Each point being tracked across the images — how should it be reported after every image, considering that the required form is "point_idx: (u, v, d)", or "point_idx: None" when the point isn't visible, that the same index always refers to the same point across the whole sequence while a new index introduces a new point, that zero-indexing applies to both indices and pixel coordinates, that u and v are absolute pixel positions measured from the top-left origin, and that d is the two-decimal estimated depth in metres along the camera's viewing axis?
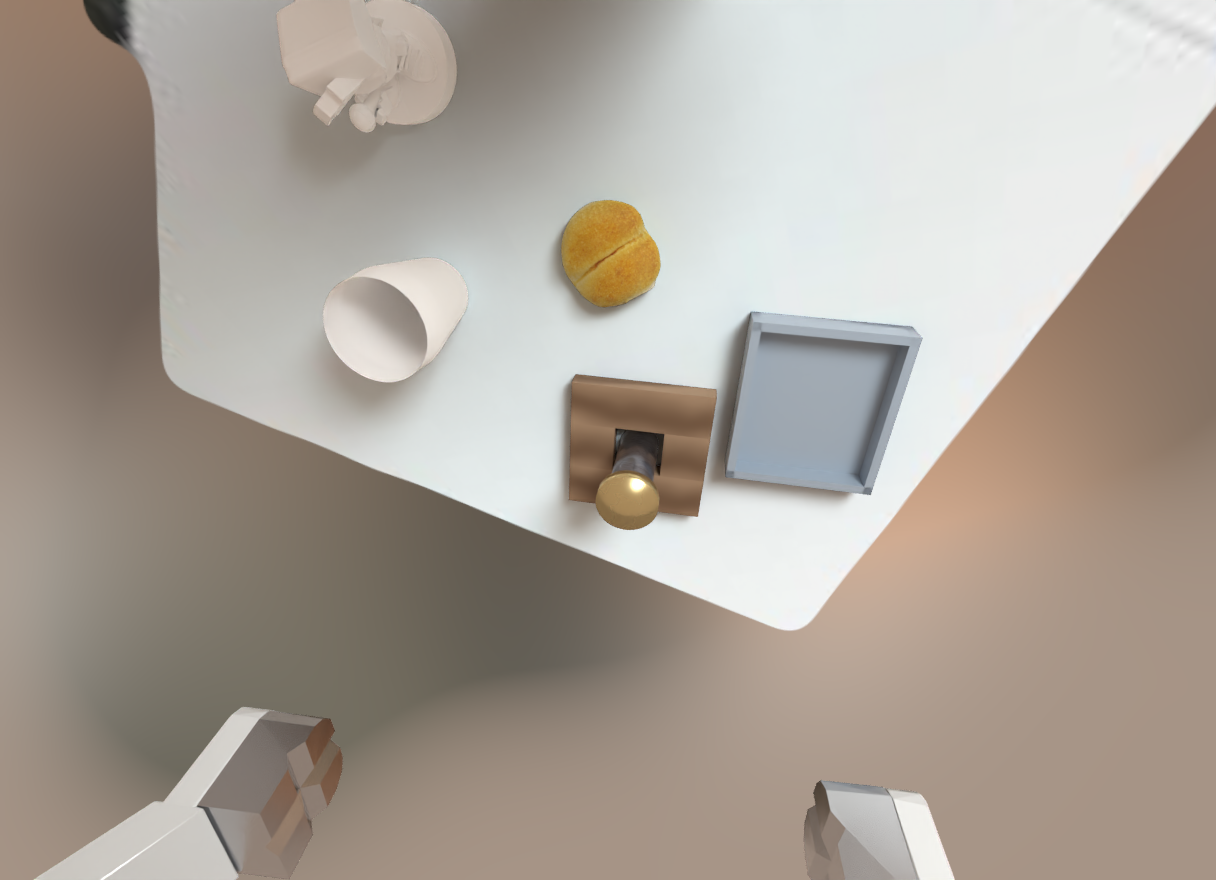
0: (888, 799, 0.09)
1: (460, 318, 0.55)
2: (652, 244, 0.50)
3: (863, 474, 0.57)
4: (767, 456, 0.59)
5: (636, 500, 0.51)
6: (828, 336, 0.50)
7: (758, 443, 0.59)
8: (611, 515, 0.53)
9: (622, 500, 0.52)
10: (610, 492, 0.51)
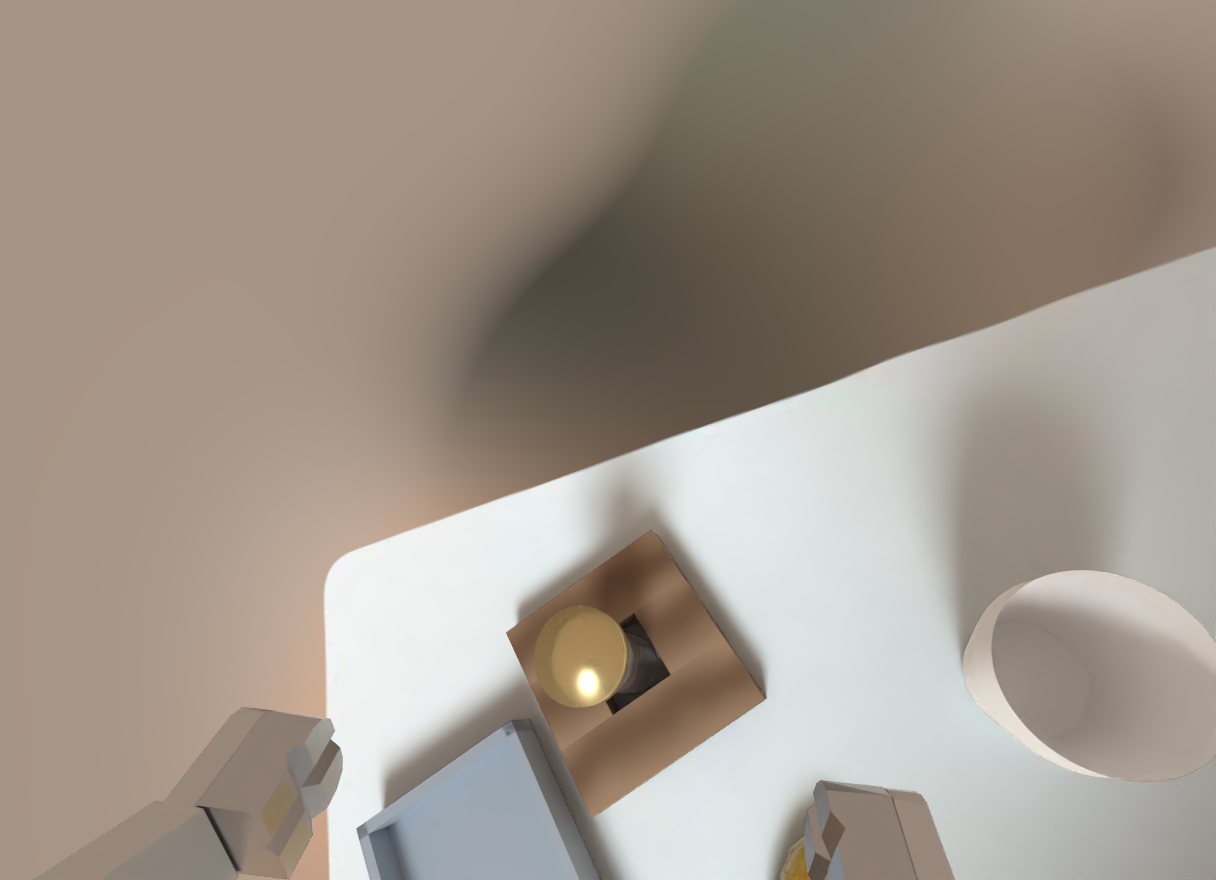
0: (888, 799, 0.09)
1: (967, 680, 0.35)
2: None
3: (381, 840, 0.43)
4: (490, 771, 0.43)
5: (571, 671, 0.34)
6: None
7: (510, 781, 0.43)
8: (583, 620, 0.35)
9: (585, 655, 0.34)
10: (608, 655, 0.34)
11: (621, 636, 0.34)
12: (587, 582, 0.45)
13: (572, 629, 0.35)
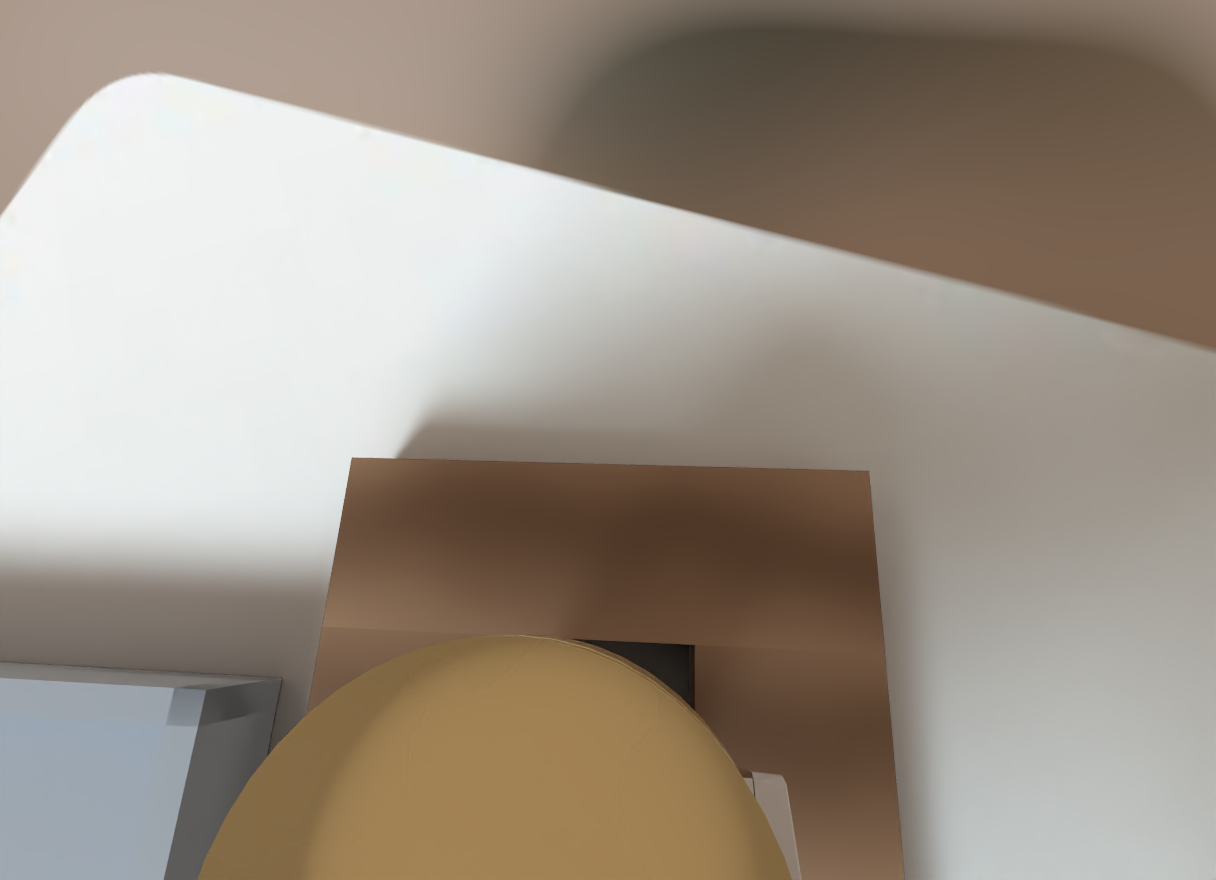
0: (749, 781, 0.09)
1: None
2: None
3: None
4: (108, 739, 0.16)
5: None
6: None
7: (134, 799, 0.15)
8: (635, 798, 0.05)
9: None
10: None
11: None
12: (622, 483, 0.16)
13: (543, 796, 0.05)
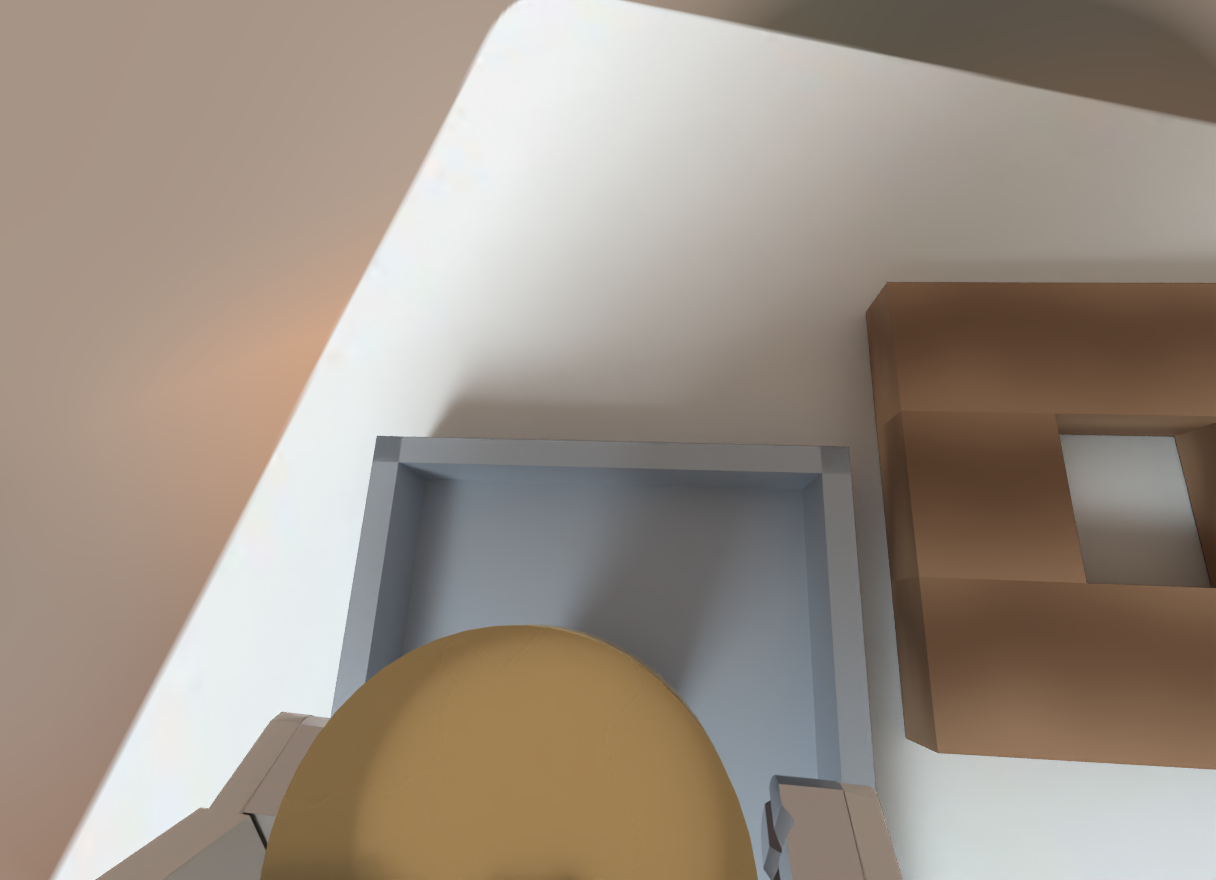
0: (840, 793, 0.09)
1: None
2: None
3: (410, 492, 0.18)
4: (701, 512, 0.19)
5: None
6: None
7: (738, 557, 0.18)
8: (620, 753, 0.07)
9: None
10: None
11: None
12: (1135, 296, 0.19)
13: (549, 751, 0.07)
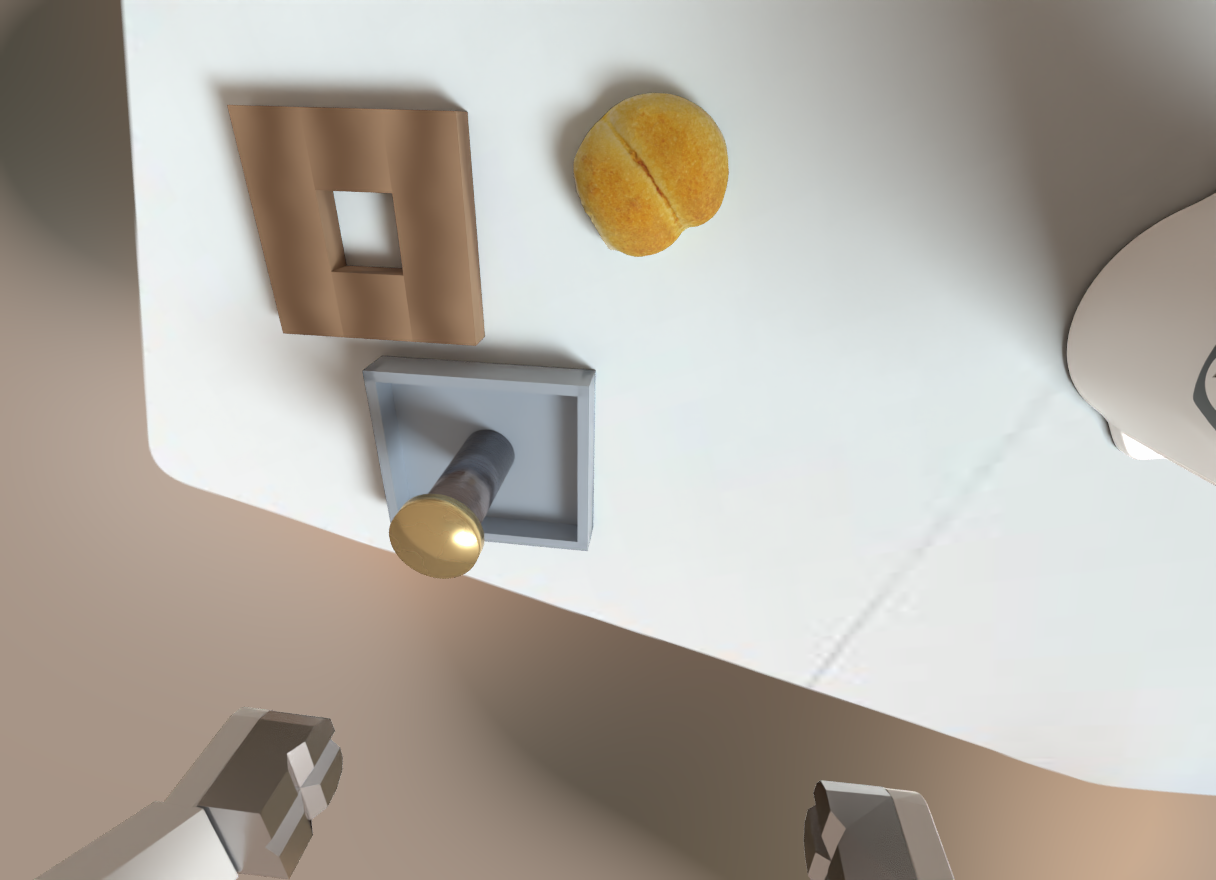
0: (888, 799, 0.09)
1: None
2: (668, 244, 0.36)
3: None
4: (406, 411, 0.45)
5: (444, 554, 0.36)
6: (579, 468, 0.42)
7: (421, 398, 0.44)
8: (408, 523, 0.35)
9: (437, 538, 0.35)
10: (447, 524, 0.35)
11: (438, 504, 0.34)
12: (262, 219, 0.38)
13: (410, 535, 0.36)
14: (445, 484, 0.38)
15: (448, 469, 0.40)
